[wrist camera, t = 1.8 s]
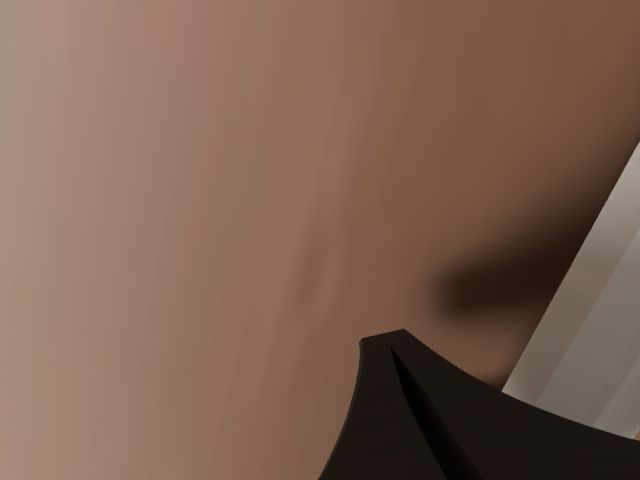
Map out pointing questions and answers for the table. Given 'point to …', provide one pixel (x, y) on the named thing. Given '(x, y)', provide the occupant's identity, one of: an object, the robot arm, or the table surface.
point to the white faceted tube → (593, 325)
